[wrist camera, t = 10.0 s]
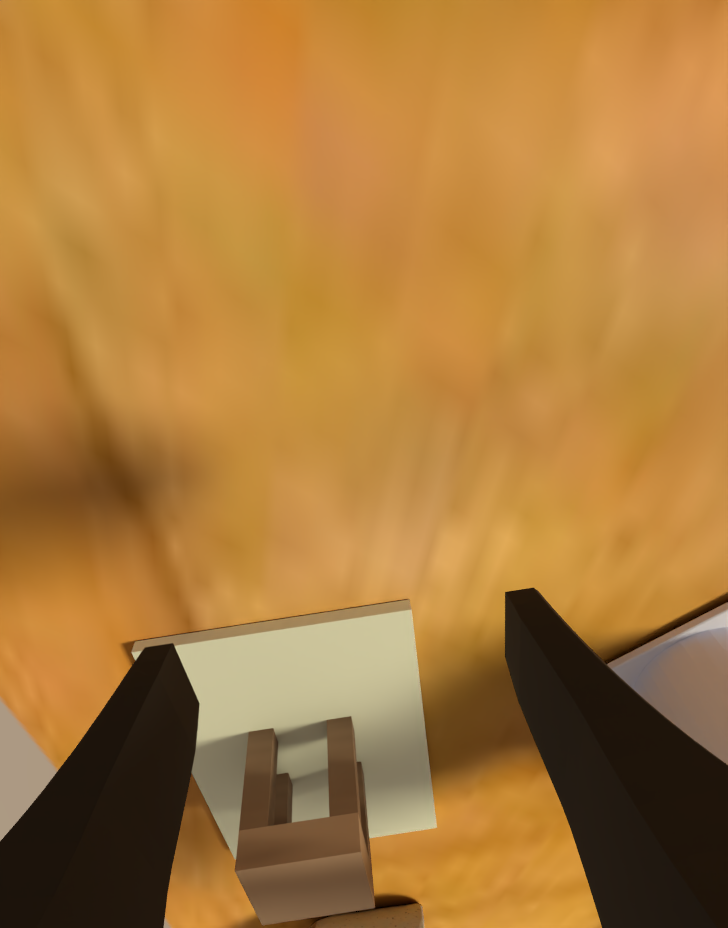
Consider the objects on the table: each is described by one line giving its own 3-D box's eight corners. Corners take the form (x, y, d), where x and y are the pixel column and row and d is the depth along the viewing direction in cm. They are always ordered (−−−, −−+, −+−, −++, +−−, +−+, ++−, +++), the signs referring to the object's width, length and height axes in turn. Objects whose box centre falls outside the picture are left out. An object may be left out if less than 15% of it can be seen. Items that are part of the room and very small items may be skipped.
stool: (363, 774, 30) (375, 907, 25) (270, 788, 30) (262, 925, 25) (351, 716, 28) (360, 851, 22) (248, 731, 28) (234, 871, 22)
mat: (434, 817, 34) (436, 827, 34) (235, 847, 34) (234, 859, 34) (409, 599, 25) (411, 609, 24) (135, 641, 25) (131, 652, 24)
